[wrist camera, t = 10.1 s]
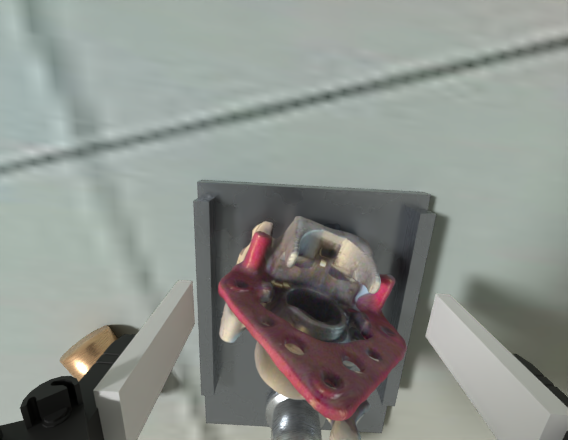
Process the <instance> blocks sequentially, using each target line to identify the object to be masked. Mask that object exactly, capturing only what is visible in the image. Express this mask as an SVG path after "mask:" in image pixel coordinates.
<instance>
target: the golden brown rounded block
mask: <svg viewBox="0 0 568 440" xmlns="http://www.w3.org/2000/svg"><path fill="white" fill-rule="evenodd" d="M117 339H118V338H117V337H116V335H115V334H114V333H113V332H112V330H111V329H110V328H109V327H108V326H103V327H101V328H99V329H97V330H95V331H93V332H91V333H90V334H88V335H87V336H85V337H84V338H82V339H81V340H80V341H78V342H77V343H76V344H75V345H73V346H72V347H71V348H70V349H69V350H68V351H67V352H66V353H65V354H64V355H63V356H62V357H61V359H60V362H61V363H62V364H63V366H64V367H65V368H66V369H67V370H68V371H69V372H70V373H71V375H72V376H73V377H74V378H77V380H78V382H79V381H80V380H81V379H82V377H83V376H84V375H85V374H86V373H87V372H88V370H89V369H90V368H91V367H92V366H93V365H94V364H95V363H96V361H97V360H98V359H99V358H100V356H101V355H103V353H104V352H105V351H106V349H107V348H108V347H109V346H110V345H111V344H112V343H113V342H114V341H115V340H117Z"/></svg>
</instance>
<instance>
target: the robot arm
mask: <svg viewBox="0 0 568 440" xmlns="http://www.w3.org/2000/svg"><path fill="white" fill-rule="evenodd" d="M194 324H195V320H194V301H193V282H192V281H188V280H178V281H177V282H176V283H175V285H174V286H173V287H172V289H171V290H170V291H169V293H168V294H167V295H166V296H165V298H164V299H163V300H162V302H161V303H160V304H159V306H158V307H157V308H156V310H155V311H154V312H153V313H152V315H151V316H150V317H149V319H148V320H147V321H146V323H145V324H144V325H143V326H142V328H141V329H140V330H139V332H138V333H137V334H136V335H129V334H124V335H123V336H121V337H120V338H118V339H117V340H115V341H114V342H113V343H112V344H111V345H110V346H109V347H108V348H107V349H106V351H105V352H104V353H103V355H101V356H100V358H99V359H98V360H97V361H96V363H95V364H94V365H93V366H92V367H91V368H90V369H89V370H88V372H87V373H86V374H85V375H84V376H83V377H82V379H81V380H80V381H79V382H78V380H77V378H74V377H72V376H61V377H58V378H54V379H51V380H49V381H47V382H45V383H43V384H41V385H39V386H38V387H37V388H35V389H34V390H32V391H31V392H30V393H29V394H28V395H27V396H26V398H25V399H24V400H23V402H22V404H21V407H20V409H21V413H22V416H23V419H24V420H23V421H19V422H14V423H10V424H6V425H1V426H0V440H137V439H138V437H139V435H140V433H141V431H142V429H143V427H144V425H145V423H146V421H147V419H148V417H149V415H150V413H151V411H152V409H153V407H154V405H155V403H156V401H157V399H158V397H159V395H160V393H161V391H162V389H163V387H164V385H165V383H166V381H167V379H168V377H169V375H170V373H171V371H172V369H173V367H174V365H175V363H176V361H177V359H178V356H179V354H180V352H181V350H182V348H183V346H184V344H185V342H186V340H187V338H188V336H189V334H190V332H191V330H192V328H193V326H194ZM426 338H427V339H428V341H429V342H430V343H431V345H432V346H433V348H434V349H435V351H436V352H437V354H438V355H439V356H440V358H441V359H442V361H443V362H444V364H445V365H446V366H447V368H448V369H449V371H450V372H451V374H452V375H453V377H454V378H455V379H456V381H457V382H458V384H459V385H460V387H461V388H462V389H463V391H464V392H465V394H466V395H467V397H468V398H469V400H470V401H471V402H472V404H473V405H474V407H475V408H476V410H477V411H478V412H479V414H480V415H481V417H482V418H483V420H484V421H485V422H486V424H487V425H488V427H489V428H490V430H491V431H492V433H493V434H494V435H495V437H496V438H497V440H568V397H567V396H566V395H565V394H564V393H562V392H561V391H560V390H559V389H558V388H557V387H554V384H553V383H552V382H551V381H549V380H548V379H547V378H546V377H544V375H543V374H542V373H541V372H540V371H539V370H538V369H537V368H535V367H534V366H533V365H532V364H531V363H529V362H528V361H526V360H525V359H523V358H522V357H520V356H519V355H517V354H511V353H510V352H509V351H508V350H507V349H506V348H505V347H504V346H503V345H502V344H501V343H500V342H499V341H498V340H497V339H496V338H495V337H494V336H493V335H492V334H491V333H490V332H489V331H488V330H486V329H485V328H484V327H483V326H482V325H481V324H480V323H479V322H478V321H477V320H476V319H475V318H474V317H473V316H472V315H471V314H470V313H469V312H468V311H467V310H466V309H465V308H464V307H463V306H462V305H461V304H459V303H458V302H457V301H456V300H455V299H454V298H453V297H452V296H451V295H450V294H436V295H435V299H434V303H433V307H432V311H431V315H430V319H429V324H428V328H427V332H426Z"/></svg>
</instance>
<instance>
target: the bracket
mask: <svg viewBox="0 0 568 440" xmlns="http://www.w3.org/2000/svg"><path fill="white" fill-rule="evenodd" d="M197 188H198V198H197V199H196V200H194V201H193V204H194V228H195V253H196V277H197V301H198V325H199V350H200V374H201V395H205V407H206V423H214V424H232V425H249V426H267V427H270V428H271V429H272V430H271V440H322V436H321V430H332V426H331V424H330V423H329V421H328V420H327V419H326V418H325V417H324V416H323V415H322V414H320V413H319V412H318V411H316V410H315V409H314V408H313V407H312V406H311V405H310V404H309V403H308V402H307V401H306V400H294V399H290V398H287V397H284V396H282V395H281V394H279V393H277V392H276V391H275V390H273V389H272V388H271V387H269V386H268V385H267V384H266V383H265V382H264V381H263V379H262V378H261V376H260V375H259V372H258V370H257V368H256V363H255V347H256V344H257V340H256V339H255V338H254V337H253V336H252V335H251V334H250V332H249V331H248V330H247V328H246V329H245V330H244V331H243V333H242V334H241V335H240V336H239V337H238V339H237V340H236V341H235V342H233V343H229V342H225V341H223V340H222V339H221V338H220V335H219V331H220V326H221V318H222V315H223V311H224V306H225V303H226V302H225V300H224V299H223V298H222V297H220V295H219V293H218V285H219V282H220V280H221V279H222V278H223V277H224V276H225V275H226V274H227V273H229V272H230V271H231V270H232V268H233V267H234V266H235V265H236V263H237V260H238V257H239V254H240V253H241V251H242V250H243V249H244V248H246V247H247V246H248V245H249V244H250V243H251V240H252V230H253V229H254V228H255V227H256V226H257V225H259V224H261V223H263V222H265V221H267V222H272V223H273V228H272V232H271V237H272V238H274V239H277V238H279V237H280V236H282V235H283V234H284V232H285V231H286V230H287V228H288V227H289V226H290V224H291V223H292V222H293V221H294V219H295V217H296V216H302V217H305V218H307V219H310V220H312V221H315V222H317V223H319V224H321V225H324V226H326V227H329V228H332V229H336V230H340V231H344V232H348V233H351V234H354V235H356V236H359V237H361V238H364V239H365V240H367V241H368V242H369V245H370V247H371V249H372V251H373V256H374V260H375V262H376V264H377V268H378V272H379V275H380V274H384V275H385V274H389V275H392V276H393V277H394V278H395V284H394V286H393V288H392V291H391V293H390V295H389V296H388V298H387V300H386V301H385V304H384V306H383V308H382V313H383V315H384V316H385V318H386V319H387V320H388V322H389V323H390V324H391V325H393V327H394V328H395V329H396V330H397V332H398V333H399V334H400V335H401V336H402V337H403V338H404V340H405V342H406V346H407V347H408V343H409V338H410V333H411V329H412V324H413V320H414V315H415V310H416V306H417V301H418V296H419V292H420V287H421V283H422V278H423V273H424V269H425V264H426V260H427V255H428V250H429V246H430V241H431V236H432V232H433V227H434V223H435V218H436V214H435V213H433V212H430V211H428V206H429V201H430V196H431V195H430V194H427V193H425V192H412V191H394V190H376V189H357V188H339V187H321V186H303V185H285V184H267V183H249V182H231V181H213V180H200V181H198V182H197ZM406 352H407V350H406ZM406 352H405V354H404V358H403V359H402V360H401V361H399V363H398V364H397V365H396V366H395V367H394V368H393V369H392V370H391V372H390V373H389V374H388V376H387V378H386V379H385V380H384V381H383V382H381V383H380V384H379V385H378V387H377V388H376V389H375V390H374V391H373V392H372V393H371V394H370V396H369V397H368V398H367V399H366V400H367V401H368V402H369V404H370V410H369V411H368V412H367V413H366V414H365V415H364V416H363V417H362V418H361V420H360V421H359V422H358V424H357V425H356V427H357V429H358V431H359V432H373V433H382V428H383V424H384V419H385V414H386V409H387V406H395V403H396V398H397V393H398V389H399V384H400V380H401V375H402V370H403V366H404V361H405V356H406ZM350 370H353V371H360V369H359V368H358V367H357V366H356V365H355V366H353V367H352V368H351V369H350Z"/></svg>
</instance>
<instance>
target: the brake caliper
mask: <svg viewBox="0 0 568 440" xmlns="http://www.w3.org/2000/svg"><path fill="white" fill-rule="evenodd" d="M272 228H273V223H272V222H267V221H265V222H263V223H261V224H259V225H257V226H256V227H255V228H254V229H253V230H252V240H251V243H250V244H249V245H248V246H247V247H246V248H244V249H243V250H242V251H241V253H240V254H239V257H238V260H237V263H236V265H235V266H234V267H233V268H232V270H231V271H230V272H229V273H227V274H226V275H225V276H224V277H223V278H222V279H221V280H220V282H219V285H218V293H219V295H220V297H222V298H223V299H224V300H225V302H226V303H225V306H224V311H223V315H222V318H221V326H220V331H219V335H220V338H221V339H222V340H223V341H225V342H229V343H233V342H235V341H236V340H237V339H238V337H239V336H240V335H241V334H242V333H243V331H244V330H245V329H246V328H247V330H248V331H249V332H250V334H251V335H252V336H253V337H254V338H255V339H256V340H257V344H256V347H255V363H256V368H257V370H258V372H259V375H260V376H261V378H262V379H263V381H264V382H265V383H266V384H267V385H268V386H269V387H271V388H272V389H273V390H275V391H276V392H277V393H279V394H281V395H282V396H284V397H287V398H290V399H294V400H306V401H307V402H308V403H309V404H310V405H311V406H312V407H313V408H314V409H315V410H316V411H318V412H319V413H320V414H322V415H323V416H324V417H325V418H326V419H327V420H328V421H329V423H330V424H331V426H332V430H331V433H330V440H361V436H360V433H359V431H358V429H357V427H356V425H357V424H358V422H359V421H360V420H361V418H362V417H363V416H364V415H365V414H366V413H367V412H368V411H369V410H370V404H369V402H368V401H367V400H366V399H367V398H368V397H369V396H370V394H371V393H372V392H373V391H374V390H375V389H376V388H377V387H378V385H379V384H380V383H381V382H383V381H384V380H385V379H386V378H387V376H388V374H389V373H390V372H391V370H392V369H393V368H394V367H395V366H396V365H397V364H398V363H399V361H401V360H402V359H403V358H404V354H405V352H406V350H407V346H406V342H405V340H404V338H403V337H402V336H401V335H400V334H399V333H398V332H397V330H396V329H395V328H394V327H393V325H391V324H390V323H389V322H388V320H387V319H386V318H385V316H384V315H383V313H382V308H383V306H384V304H385V301H386V300H387V298H388V296H389V295H390V293H391V291H392V288H393V286H394V284H395V278H394V277H393V276H392V275H389V274H385V275H384V274H380V275H379V272H378V268H377V264H376V262H375V260H374V256H373V251H372V249H371V247H370V245H369V242H368V241H367V240H365V239H364V238H361V237H359V236H356V235H354V234H351V233H348V232H344V231H340V230H336V229H332V228H329V227H326V226H324V225H321V224H319V223H317V222H315V221H312V220H310V219H307V218H305V217H302V216H296V217H295V219H294V221H293V222H292V223H291V224H290V226H289V227H288V228H287V230H286V231H285V232H284V234H283V235H282V236H280V237H279V238H277V239H274V238H272V237H271V232H272ZM355 365H356V366H357V367H358V368H359V369H360V371H353V370H350V369H351V368H352V367H353V366H355Z"/></svg>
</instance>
